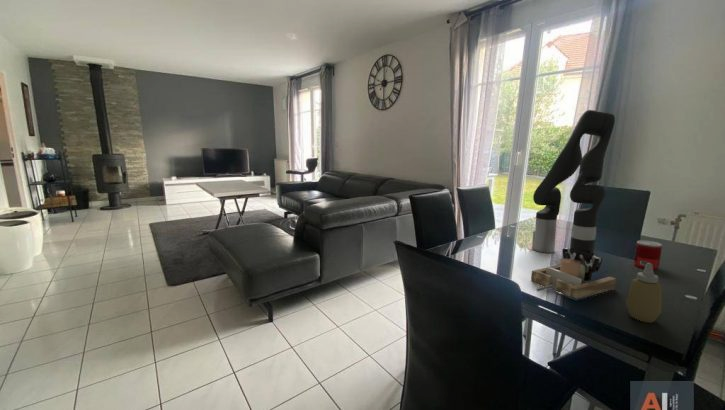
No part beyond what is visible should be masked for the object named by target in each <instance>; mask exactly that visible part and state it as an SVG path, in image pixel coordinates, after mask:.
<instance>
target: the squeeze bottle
mask: <svg viewBox="0 0 725 410" xmlns="http://www.w3.org/2000/svg"><path fill="white" fill-rule="evenodd" d="M642 270H643V271H640V272H637V273H636V274H637V275H636V278H633V279H632V280H631V285H630V289H629V292H628V295H627V299H626V301H625V305H626V308H627V312H628V314H630V315H629V316H630V317H631V316H632V317H633V318H632V317H631V318H632V319H634V318H635V319H634V320H636V319H637V320H636V321H639V320H640V322H642V321H643V322H642V323H655V322H656V320H657V319H658V317H659V316H660V315H661V313H662V295H663V294H662V291H663V289H662V285H661V283H659V276H658V275H657V274H654V270H653V266H652V264H651V263H647V264H646V266H645V268H644V269H642Z"/></svg>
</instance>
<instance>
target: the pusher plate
mask: <svg viewBox="0 0 725 410" xmlns="http://www.w3.org/2000/svg"><path fill="white" fill-rule="evenodd" d="M545 268H546V274H547V275H549V276H551V282H550V285H549V286H545V287H543V286H540V287H538V288H536V291H537V292H541V291H544V290H548V289H549V288H550V289H551V288H556V281H557V280H558V279H559V280H562V281H564V282H567V283H569V284H571V285H573V286H577V285H581V282H582V279H580V278H578V277H575V276H572V275H570V274H567V273H564V272H562V271H559V270H557V269H554V268H551V267H550V266H546V267H545Z"/></svg>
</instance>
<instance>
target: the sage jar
mask: <svg viewBox="0 0 725 410" xmlns="http://www.w3.org/2000/svg"><path fill="white" fill-rule="evenodd" d="M574 260H575V259H574ZM577 261H578V260H577ZM579 262H580V268H579V278H580V279H582V282H581V284H584V283H588V282H589V281H584V277H585V272H586V271H585V266H583V264H582V262H581V261H579ZM586 263H587V264H588V262H586ZM588 267H589V266H588Z"/></svg>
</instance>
